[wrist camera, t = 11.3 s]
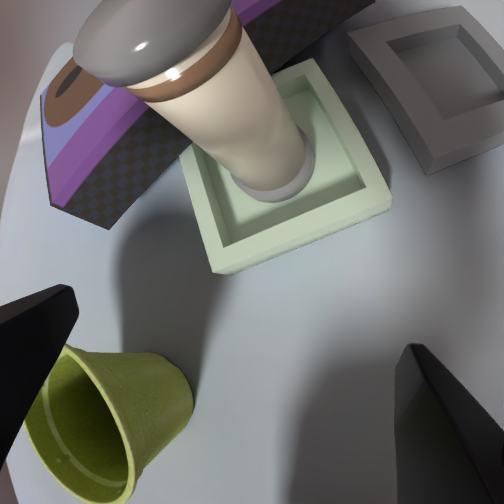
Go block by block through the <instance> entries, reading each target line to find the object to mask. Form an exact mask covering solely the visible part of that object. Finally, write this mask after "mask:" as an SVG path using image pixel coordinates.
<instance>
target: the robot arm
mask: <svg viewBox="0 0 504 504" xmlns="http://www.w3.org/2000/svg"><path fill="white" fill-rule="evenodd" d="M78 316H79V308H78V304H77V301H76V297H75V293H74V290H73V288H72V287H70V286H67V285H64V284H58V285H55V286H53V287H50V288H47V289H45V290H42V291H39V292H37V293H34V294H31V295H29V296H26V297H23V298H21V299H18V300H16V301H13V302H10V303H8V304H5V305H3V306H0V472H1V469H2V467H3V464H4V462H5V460H6V457H7V455H8V453H9V451H10V449H11V447H12V444H13V442H14V440H15V438H16V436H17V434H18V432H19V430H20V428H21V426H22V424H23V422H24V420H25V418H26V416H27V414H28V412H29V410H30V408H31V406H32V404H33V403H34V401H35V399H36V397H37V395H38V393H39V391H40V390H41V388H42V386H43V384H44V382H45V381H46V379H47V377H48V375H49V374H50V372H51V370H52V368H53V367H54V365H55V363H56V361H57V360H58V358H59V356H60V354H61V352H62V350H63V347H64V345H65V343H66V341H67V339H68V337H69V335H70V333H71V331H72V329H73V327H74V325H75V323H76V321H77V319H78ZM394 431H395V446H396V464H397V504H504V431H503V429H502V428H501V427H500V426H499V425H498V424H497V423H496V421H495V420H494V419H493V418H492V417H491V416H490V415H489V414H488V412H487V411H486V410H485V409H484V408H483V407H482V406H481V405H480V404H479V402H478V401H477V400H476V399H475V398H474V397H473V396H472V395H471V394H470V393H469V392H468V390H467V389H466V388H465V387H464V386H463V385H462V384H461V383H460V382H459V381H458V380H457V379H456V378H455V377H454V375H453V374H452V373H451V372H450V371H449V370H448V369H447V368H446V367H445V366H444V365H443V364H442V363H441V362H440V361H439V360H438V359H437V358H436V357H435V356H434V355H433V354H432V353H431V351H430V350H429V349H428V348H427V347H426V346H425V345H423V344H417V343H409V344H407V345H406V347H405V349H404V351H403V353H402V355H401V357H400V360H399V362H398V364H397V366H396V369H395V412H394Z"/></svg>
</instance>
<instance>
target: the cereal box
mask: <svg viewBox="0 0 504 504" xmlns="http://www.w3.org/2000/svg"><path fill="white" fill-rule="evenodd" d="M374 2H375V0H232V1H231V5H232V7H233V9H234V10H235V12H236V14H237V15H238V17H239V19H240V21H241V23H242V27H243V28H244V30H245V32H246V33H247V35H248V37H249V38H250V40H251V42H252V44H253V45H254V47H255V49H256V51H257V52H258V54H259V56H260V58H261V60H262V61H263V63H264V65H265V67H266V69H267V70H268V72H269V74H270V75H271V74H272V73H273V72H275V71H276V70H277V69H278V68H280V67H281V66H282V65H284V64H285V63H286V62H287V61H289V60H290V59H291V58H293V57H294V56H295V55H297V54H298V53H299V52H301V51H302V50H303V49H305V48H306V47H308V46H309V45H310V44H312V43H313V42H315V41H316V40H317V39H319V38H320V37H322V36H323V35H325V34H326V33H327V32H329V31H330V30H332V29H333V28H335V27H336V26H338V25H339V24H341V23H342V22H344V21H345V20H347V19H348V18H350V17H351V16H353V15H355V14H356V13H358V12H359V11H361V10H363V9H364V8H366V7H367V6H369V5H371V4H372V3H374ZM40 110H41V130H42V143H43V154H44V164H45V172H46V180H47V187H48V194H49V200H50V206H52V207H55V208H57V209H59V210H62V211H64V212H66V213H69V214H71V215H74V216H76V217H78V218H81V219H83V220H85V221H88V222H90V223H93V224H95V225H97V226H100V227H102V228H105V229H107V230H110V229H111V227H112V226H113V225H114V224H115V223H116V222H117V221H118V219H119V218H120V217H121V216H122V215H123V214H124V213H125V212H126V210H127V209H128V208H129V207H130V206H131V205H132V204H133V203H134V202H135V201H136V199H137V198H138V197H139V196H140V195H141V194H142V193H143V192H144V191H145V190H146V189H147V188H148V187H149V186H150V185H151V183H152V182H153V181H154V180H155V179H156V178H157V177H158V176H159V175H160V174H161V173H162V172H163V171H164V170H165V169H166V168H167V167H168V166H169V165H170V164H171V163H172V162H173V161H174V160H175V159H176V158H177V157H178V156H179V155H180V154H181V153H182V152H183V151H184V150H185V149H186V148H187V147H188V146H189V145H190V144H192V143H193V141H192V140H191V139H190V138H188V137H187V136H186V135H185V134H183V133H182V132H181V131H180V130H179V129H177V128H176V127H175V126H174V125H172V124H171V123H170V122H169V121H168V120H166V119H165V118H164V117H163V116H161V115H160V114H159V113H158V112H156V111H155V110H154V109H153V108H151V107H150V106H149V105H148V104H146V103H145V102H144V101H141V100H139V99H138V98H136V97H135V96H134V95H132V94H131V93H130V92H129V91H127V90H126V89H125V88H123V87H118V88H116V87H110V86H108V85H105V84H104V83H103V82H101V81H100V80H99V79H97V78H96V77H94V76H93V75H92V74H90V73H89V72H87V71H86V70H85V69H83V68H82V67H80V66H79V65H78V64H76V63H75V61H74V59H73V57H72V58H71V59H70V60H69V61H68V62H67V64H66V65H65V66H64V67H63V68H62V69H61V70H60V72H59V73H58V74H57V75H56V76H55V78H54V79H53V80H52V81H51V83H50V84H49V85H48V86H47V88H46V89H45V90H44V92H43V93H42V94H41V95H40Z"/></svg>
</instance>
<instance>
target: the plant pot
mask: <svg viewBox="0 0 504 504" xmlns="http://www.w3.org/2000/svg"><path fill="white" fill-rule="evenodd" d="M192 412H193V397H192V392H191V389H190V386H189V384H188V382H187V380H186V378H185V376H184V375H183V373H182V372H181V371H180V369H179V368H177V367H176V366H174V365H173V364H172V363H170V362H169V361H168V360H166V359H165V358H164V357H163V356H161V355H159V354H155V353H98V352H86V351H84V350H81V349H78V348H73V347H71V346H69V345H68V344H66V343H65V345H64V347H63V350H62V352H61V354H60V356H59V358H58V360H57V361H56V363H55V365H54V367H53V368H52V370H51V372H50V374H49V375H48V377H47V379H46V381H45V382H44V384H43V386H42V388H41V390H40V391H39V393H38V395H37V397H36V399H35V401H34V403H33V404H32V406H31V408H30V410H29V412H28V414H27V416H26V418H25V420H24V422H23V423H24V426H25V430H26V433H27V435H28V438H29V440H30V442H31V443H32V445H33V448H34V450H35V452H36V454H37V455H38V457H39V458H40V460H41V461H42V463H43V464H44V466H45V467H46V468H47V470H48V471H49V473H50V474H51V475H52V476H53V477H54V478H55V479H56V480H57V481H58V482H59V483H60V484H61V486H63V487H64V488H65V489H66V490H67V491H68V492H70V493H71V494H72V495H74V496H75V497H77V498H78V499H80V500H81V501H83V502H85V503H88V504H123V503H125V502H126V501H127V500H128V499H129V498H130V497H131V495H132V494H133V492H134V490H135V488H136V484H137V480H138V479H139V477H140V476H141V474H142V472H143V469H144V468H145V467H146V466H147V465H148V464H149V463H150V462H151V461H152V460H153V459H154V458H155V457H156V456H157V455H158V454H159V453H160V452H161V451H162V450H163V449H164V448H165V447H166V446H167V445H168V444H169V443H170V442H171V441H172V440H173V439H174V438H175V437H176V436H177V435H178V434H179V433H180V432H181V431H182V430H183V429H184V428H185V427H186V425H187V423H188V421H189V419H190V417H191V415H192Z"/></svg>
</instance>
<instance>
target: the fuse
mask: <svg viewBox="0 0 504 504" xmlns="http://www.w3.org/2000/svg"><path fill="white" fill-rule="evenodd" d="M231 1H232V0H103V1H101V3H100V4H99V5H98V6H97V7H96V8H95V9H94V11H93V12H92V13H91V14H90V16H89V17H88V19H87V20H86V21H85V23H84V24H83V26H82V28H81V30H80V31H79V33H78V36H77V38H76V41H75V43H74V47H73V59H74V61H75V63H76V64H78V65H79V66H80V67H82V68H83V69H85V70H86V71H87V72H89V73H90V74H92V75H93V76H94V77H96V78H97V79H99V80H100V81H101V82H103V83H104V84H105V85H108V86H110V87H116V88H118V87H123V88H125V89H126V90H127V91H129V92H130V93H131V94H132V95H134V96H135V97H136V98H138V99H139V100H141V101H144V102H145V103H146V104H148V105H149V106H150V107H151V108H153V109H154V110H155V111H156V112H158V113H159V114H160V115H161V116H163V117H164V118H165V119H166V120H168V121H169V122H170V123H171V124H172V125H174V126H175V127H176V128H177V129H179V130H180V131H181V132H182V133H183V134H185V135H186V136H187V137H188V138H190V139H191V140H192V141H193V142H194V143H196V144H197V145H198V146H199V147H200V148H202V149H203V150H204V151H205V152H206V153H208V154H209V155H210V156H211V157H212V158H213V159H215V160H216V161H217V162H218V163H219V164H221V165H222V166H223V167H224V168H225V169H226V170H228V171H229V172H230V175H231V177H232V179H233V181H234V182H235V184H236V185H237V186H238V187H239V188H240V189H241V190H243V191H244V192H245V193H246V194H248V195H249V196H250V197H252V198H253V199H255V200H258V201H261V202H266V203H277V202H282V201H285V200H288V199H290V198H292V197H294V196H296V195H297V194H298V193H300V192H301V191H302V190H303V189H304V188H305V187H306V186H307V184H308V183H309V181H310V179H311V177H312V175H313V172H314V168H315V155H314V151H313V149H312V146H311V144H310V142H309V140H308V137H307V136H306V134H305V133H304V131H303V130H302V129H301V128H300V127H298V126H297V125H296V124H295V123H294V121H293V119H292V117H291V115H290V113H289V111H288V109H287V107H286V105H285V103H284V101H283V99H282V97H281V95H280V93H279V91H278V89H277V87H276V85H275V84H274V82H273V80H272V78H271V76H270V74H269V72H268V70H267V69H266V67H265V65H264V63H263V61H262V60H261V58H260V56H259V54H258V52H257V51H256V49H255V47H254V45H253V44H252V42H251V40H250V38H249V37H248V35H247V33H246V32H245V30H244V28H243V27H242V23H241V21H240V19H239V17H238V15H237V14H236V12H235V10H234V9H233V7H232V5H231Z"/></svg>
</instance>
